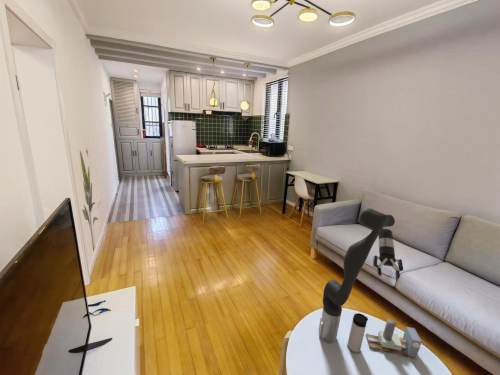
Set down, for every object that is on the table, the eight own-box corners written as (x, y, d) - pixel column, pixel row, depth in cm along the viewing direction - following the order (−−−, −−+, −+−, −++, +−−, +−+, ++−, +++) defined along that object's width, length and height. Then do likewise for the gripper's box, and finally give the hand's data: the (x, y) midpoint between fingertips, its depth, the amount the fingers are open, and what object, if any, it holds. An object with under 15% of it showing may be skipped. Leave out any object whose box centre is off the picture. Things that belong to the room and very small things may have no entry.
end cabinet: (408, 355, 119) (412, 340, 116) (401, 341, 127) (406, 326, 124) (416, 357, 118) (421, 342, 116) (410, 343, 126) (414, 328, 123)
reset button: (399, 346, 122) (401, 341, 121) (397, 340, 125) (398, 335, 124) (406, 348, 121) (408, 342, 120) (403, 342, 124) (405, 336, 123)
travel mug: (362, 354, 119) (369, 323, 114) (348, 351, 121) (355, 320, 115) (359, 344, 125) (366, 313, 120) (346, 341, 127) (352, 311, 121)
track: (369, 348, 123) (370, 345, 123) (365, 335, 131) (366, 332, 130) (416, 359, 119) (417, 355, 118) (409, 345, 126) (410, 341, 126)
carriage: (381, 346, 122) (387, 326, 118) (377, 335, 129) (382, 315, 125) (400, 350, 120) (406, 330, 117) (395, 338, 127) (401, 319, 123)
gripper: (375, 243, 132) (376, 273, 124) (403, 247, 129) (406, 278, 122) (370, 247, 139) (372, 275, 131) (397, 251, 136) (400, 280, 128)
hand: (388, 277), depth 126 cm, fingers open, 8 cm apart
